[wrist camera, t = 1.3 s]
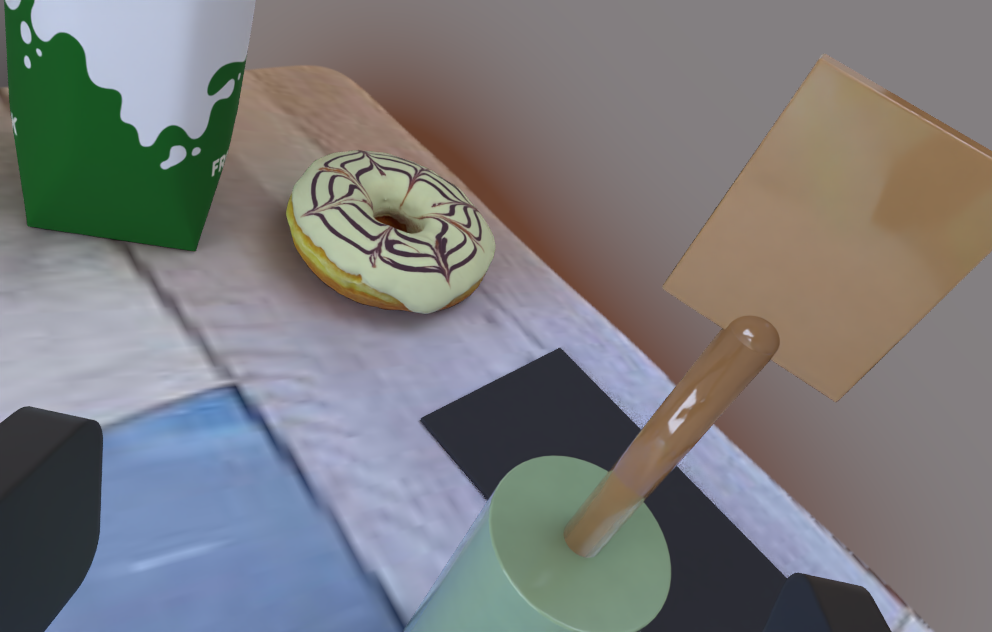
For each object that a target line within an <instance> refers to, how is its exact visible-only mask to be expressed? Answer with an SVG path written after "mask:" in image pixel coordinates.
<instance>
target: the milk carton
mask: <svg viewBox="0 0 992 632" xmlns="http://www.w3.org/2000/svg"><path fill="white" fill-rule="evenodd" d="M255 3H256V0H4V6H5V26H6V46H7V67H8V86H9V102H10V112H11V119H12V126H13V133H14V139H15V146H16V152H17V159H18V165H19V171H20V178H21V185H22V191H23V198H24V204H25V211H26V218H27V225H28V226H30V227H36V228H43V229H49V230H56V231H63V232H69V233H76V234H83V235H89V236H96V237H103V238H110V239H116V240H123V241H130V242H136V243H143V244H150V245H156V246H163V247H170V248H176V249H183V250H190V251H196V249H197V245H198V242H199V239H200V236H201V233H202V230H203V227H204V224H205V221H206V218H207V215H208V212H209V209H210V206H211V203H212V200H213V197H214V194H215V191H216V188H217V185H218V181H219V178H220V175H221V172H222V169H223V166H224V163H225V160H226V157H227V153H228V149H229V145H230V141H231V137H232V132H233V127H234V123H235V119H236V115H237V110H238V104H239V99H240V93H241V87H242V81H243V75H244V69H245V63H246V57H247V51H248V45H249V40H250V34H251V28H252V22H253V16H254V10H255Z"/></svg>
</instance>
